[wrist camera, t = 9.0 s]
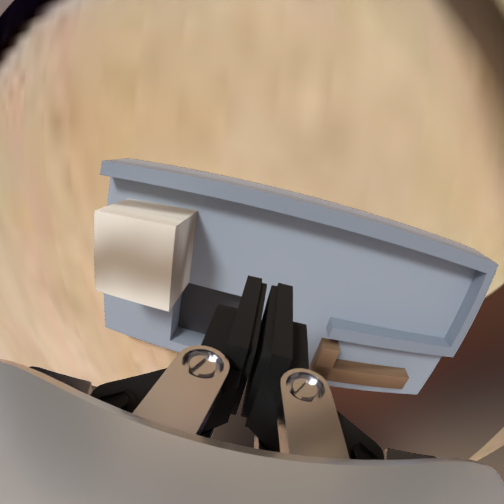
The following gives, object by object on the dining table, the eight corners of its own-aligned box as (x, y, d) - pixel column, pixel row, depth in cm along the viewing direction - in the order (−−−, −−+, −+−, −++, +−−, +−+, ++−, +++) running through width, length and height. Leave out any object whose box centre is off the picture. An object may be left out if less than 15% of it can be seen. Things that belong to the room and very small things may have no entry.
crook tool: (321, 337, 22) (323, 347, 21) (413, 352, 22) (418, 362, 21) (309, 366, 24) (310, 377, 22) (398, 379, 23) (402, 389, 22)
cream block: (128, 198, 20) (94, 210, 16) (197, 210, 20) (175, 226, 16) (125, 266, 22) (95, 290, 18) (189, 282, 22) (168, 311, 18)
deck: (128, 158, 22) (101, 160, 18) (474, 249, 21) (498, 264, 17) (117, 314, 27) (97, 335, 23) (410, 379, 26) (421, 404, 22)
